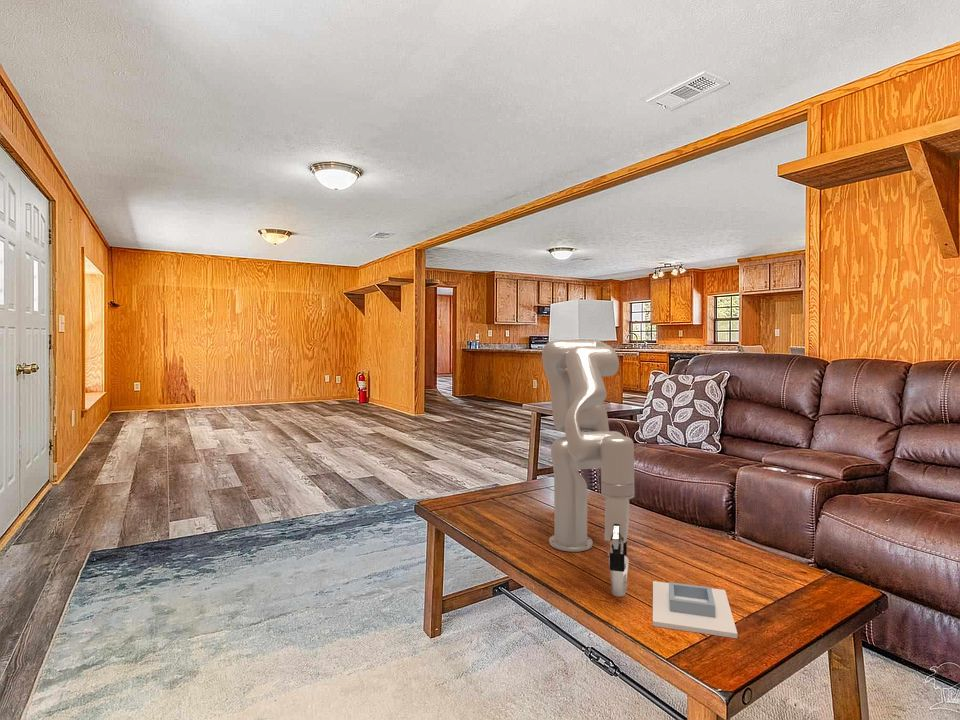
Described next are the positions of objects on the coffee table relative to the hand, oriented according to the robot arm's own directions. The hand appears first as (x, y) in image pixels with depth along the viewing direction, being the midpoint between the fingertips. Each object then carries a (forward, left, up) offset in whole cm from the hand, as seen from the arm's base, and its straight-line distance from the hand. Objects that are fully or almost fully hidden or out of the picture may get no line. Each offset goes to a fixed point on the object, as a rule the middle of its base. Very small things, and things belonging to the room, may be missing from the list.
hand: (618, 562), depth 125 cm
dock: (+2, +16, -8) cm, 17 cm away
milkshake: (-1, 0, -8) cm, 8 cm away
